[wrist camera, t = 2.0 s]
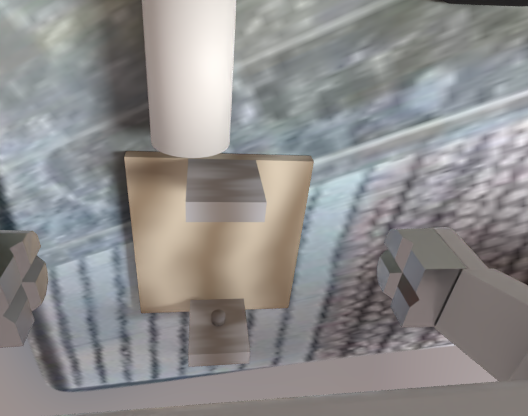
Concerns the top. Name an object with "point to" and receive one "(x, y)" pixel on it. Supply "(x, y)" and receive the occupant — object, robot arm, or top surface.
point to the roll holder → (216, 241)
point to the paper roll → (189, 74)
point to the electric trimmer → (490, 2)
